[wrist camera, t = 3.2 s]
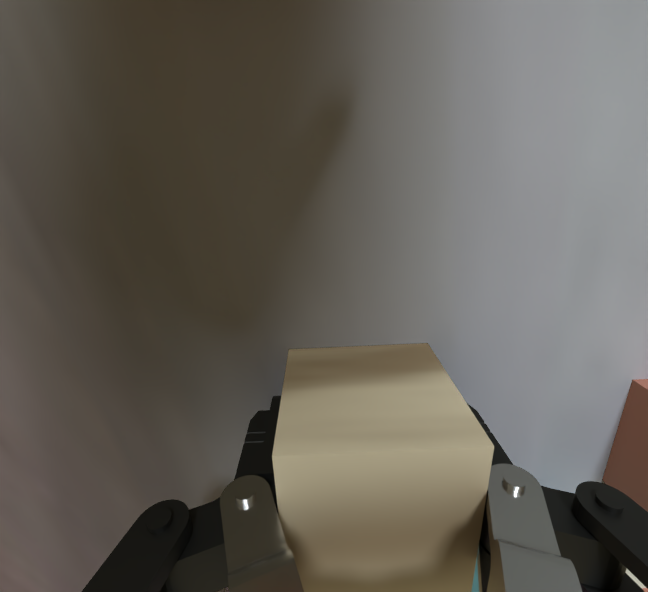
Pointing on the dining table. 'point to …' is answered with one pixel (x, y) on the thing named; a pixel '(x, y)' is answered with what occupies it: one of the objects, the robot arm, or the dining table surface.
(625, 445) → the red block
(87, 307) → the dining table surface
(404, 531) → the maple block
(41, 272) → the dining table surface
